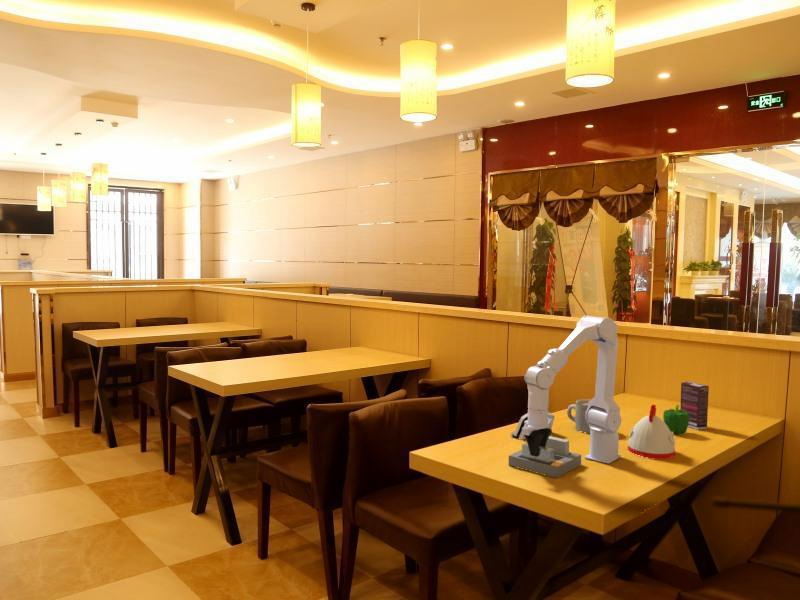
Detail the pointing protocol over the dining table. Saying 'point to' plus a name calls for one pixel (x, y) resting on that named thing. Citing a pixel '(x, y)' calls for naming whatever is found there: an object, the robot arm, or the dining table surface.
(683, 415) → the bell pepper
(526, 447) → the panel
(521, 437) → the white arched block
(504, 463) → the dining table surface
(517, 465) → the rack
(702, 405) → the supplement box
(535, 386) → the robot arm
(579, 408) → the coffee mug
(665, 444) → the chicken hat
